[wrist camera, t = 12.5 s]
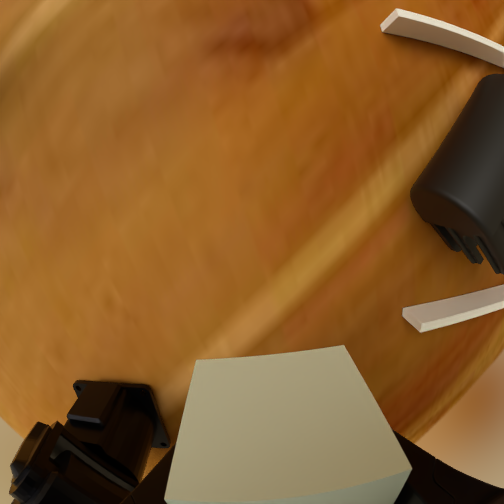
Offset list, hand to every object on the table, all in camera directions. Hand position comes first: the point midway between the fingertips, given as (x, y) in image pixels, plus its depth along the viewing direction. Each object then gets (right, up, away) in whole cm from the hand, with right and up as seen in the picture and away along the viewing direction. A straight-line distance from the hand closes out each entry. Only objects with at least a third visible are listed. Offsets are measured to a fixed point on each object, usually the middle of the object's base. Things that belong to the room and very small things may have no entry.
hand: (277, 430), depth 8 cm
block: (0, 0, +1) cm, 1 cm away
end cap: (+13, +11, +8) cm, 19 cm away
